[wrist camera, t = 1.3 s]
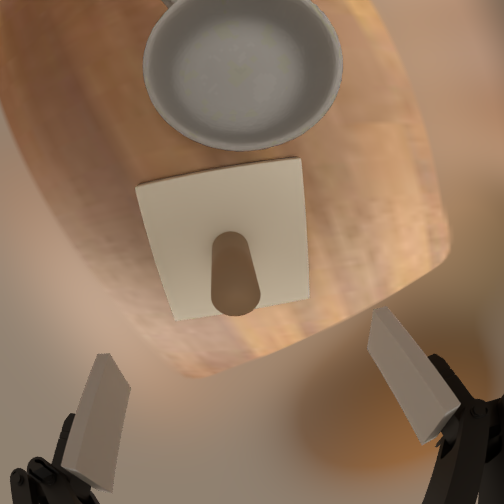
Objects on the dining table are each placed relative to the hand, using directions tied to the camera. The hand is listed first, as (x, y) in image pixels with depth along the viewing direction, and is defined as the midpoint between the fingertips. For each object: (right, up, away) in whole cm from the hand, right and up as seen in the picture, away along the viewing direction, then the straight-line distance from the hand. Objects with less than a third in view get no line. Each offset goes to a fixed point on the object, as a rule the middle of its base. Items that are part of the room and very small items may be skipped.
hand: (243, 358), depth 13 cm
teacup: (-2, +20, +6) cm, 20 cm away
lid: (-2, +6, +11) cm, 13 cm away
